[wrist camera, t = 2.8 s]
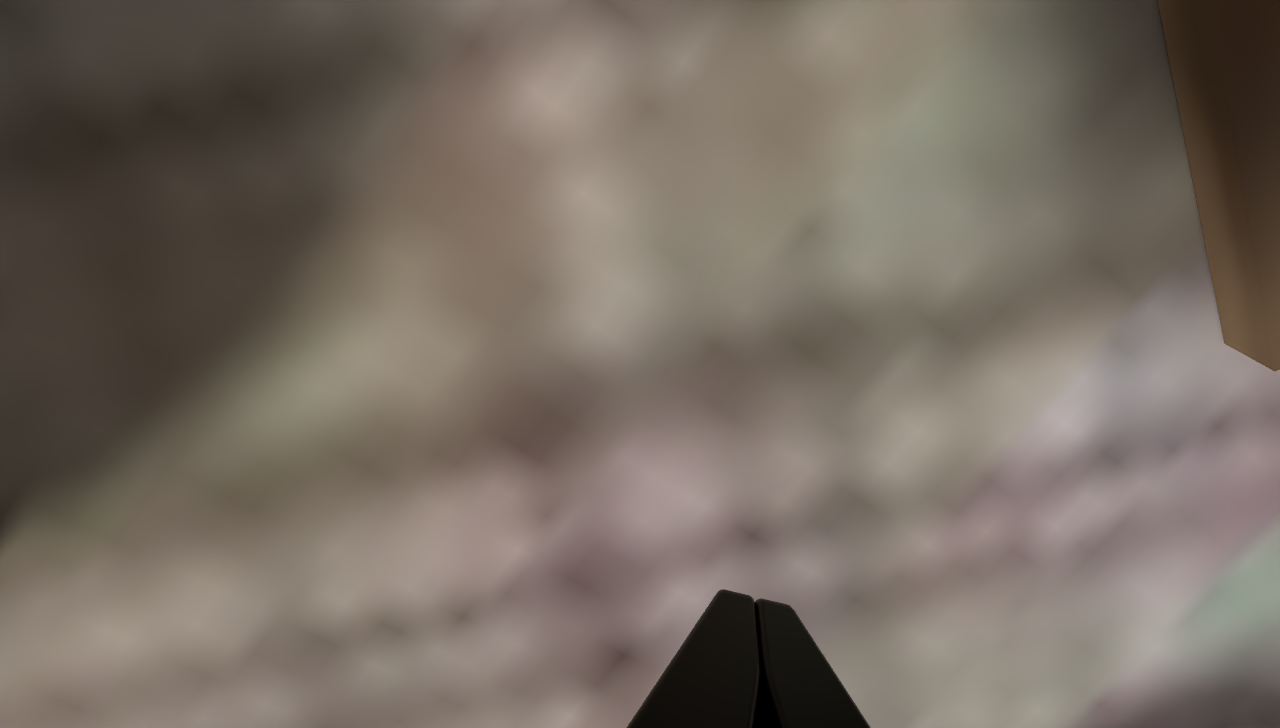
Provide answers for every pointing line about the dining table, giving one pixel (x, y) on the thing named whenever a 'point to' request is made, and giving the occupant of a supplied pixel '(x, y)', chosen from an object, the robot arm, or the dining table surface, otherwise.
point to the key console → (1234, 155)
